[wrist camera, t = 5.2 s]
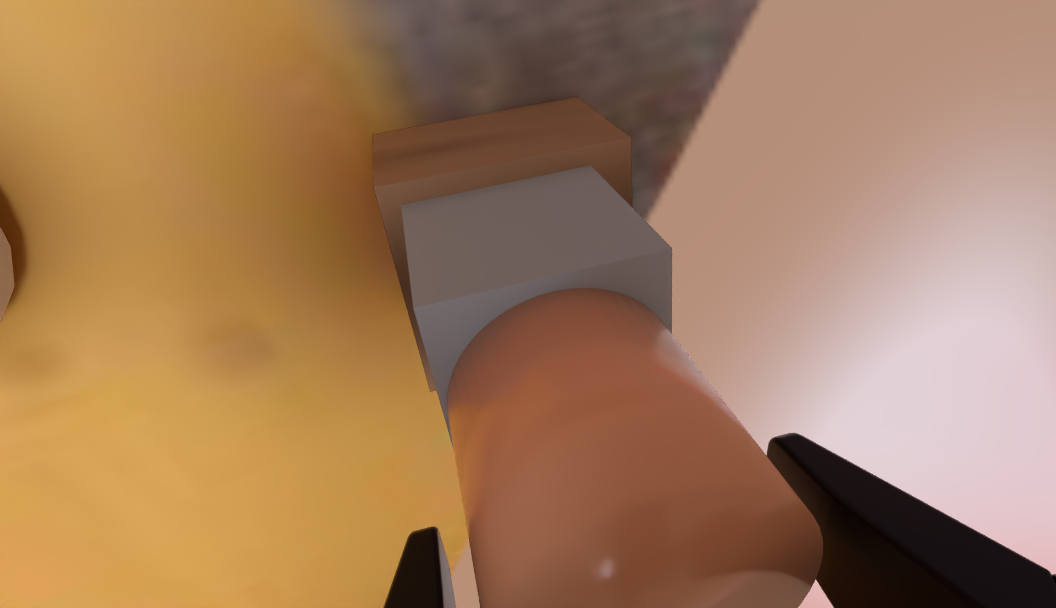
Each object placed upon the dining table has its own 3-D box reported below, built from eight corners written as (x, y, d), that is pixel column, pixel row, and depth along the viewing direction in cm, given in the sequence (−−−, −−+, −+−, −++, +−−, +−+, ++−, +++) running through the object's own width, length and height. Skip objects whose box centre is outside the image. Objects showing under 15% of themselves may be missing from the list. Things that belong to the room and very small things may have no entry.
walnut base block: (587, 269, 21) (635, 342, 17) (418, 307, 20) (430, 391, 16) (574, 95, 17) (630, 137, 14) (372, 132, 17) (373, 187, 13)
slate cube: (602, 320, 16) (671, 433, 13) (442, 359, 16) (465, 489, 12) (590, 165, 14) (671, 248, 10) (400, 205, 13) (413, 308, 10)
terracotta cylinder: (672, 445, 13) (799, 652, 9) (469, 498, 12) (513, 744, 8) (677, 263, 10) (851, 444, 7) (423, 319, 10) (457, 552, 6)
